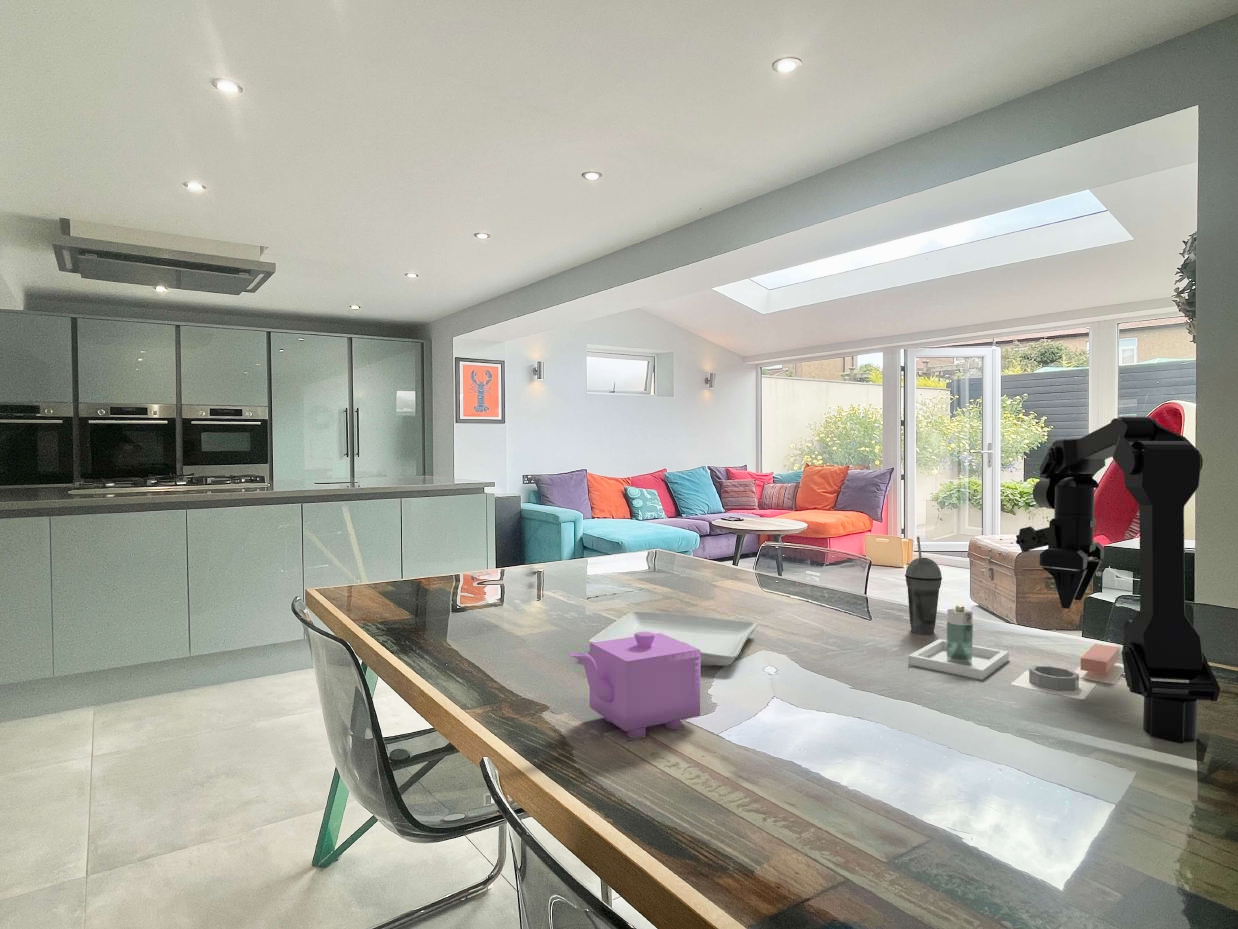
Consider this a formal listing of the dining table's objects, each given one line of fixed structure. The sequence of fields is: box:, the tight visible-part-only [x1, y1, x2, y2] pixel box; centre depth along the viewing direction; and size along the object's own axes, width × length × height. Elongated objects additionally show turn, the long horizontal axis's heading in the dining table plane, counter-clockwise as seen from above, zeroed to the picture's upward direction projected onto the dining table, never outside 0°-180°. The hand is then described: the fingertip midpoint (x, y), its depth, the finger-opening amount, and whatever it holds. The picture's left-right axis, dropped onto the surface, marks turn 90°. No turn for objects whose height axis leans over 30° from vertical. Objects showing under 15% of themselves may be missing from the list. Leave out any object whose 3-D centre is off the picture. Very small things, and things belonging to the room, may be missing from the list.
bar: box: [1080, 643, 1120, 674], centre depth 123 cm, size 12×4×2 cm, turn 137°
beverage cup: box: [904, 536, 943, 635], centre depth 152 cm, size 7×7×20 cm
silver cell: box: [946, 605, 974, 665], centre depth 127 cm, size 4×4×10 cm
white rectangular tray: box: [907, 638, 1010, 680], centre depth 128 cm, size 15×12×2 cm
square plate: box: [587, 610, 758, 667], centre depth 140 cm, size 27×27×4 cm
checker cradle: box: [1009, 662, 1124, 701], centre depth 121 cm, size 26×12×3 cm, turn 137°
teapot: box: [569, 632, 701, 739], centre depth 100 cm, size 20×10×12 cm, turn 120°
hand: (1071, 604), depth 124 cm, fingers open, 9 cm apart
